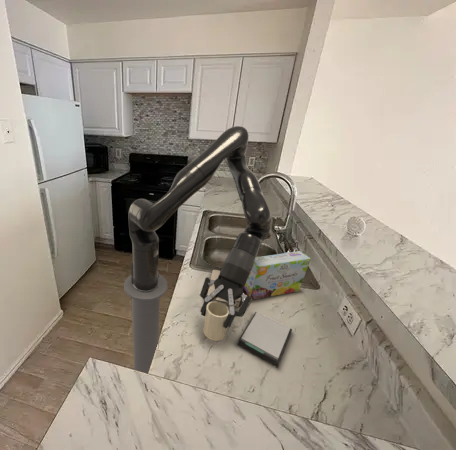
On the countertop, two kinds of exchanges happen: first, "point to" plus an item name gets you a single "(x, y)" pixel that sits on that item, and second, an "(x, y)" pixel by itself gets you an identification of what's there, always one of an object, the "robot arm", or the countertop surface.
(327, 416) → the countertop surface
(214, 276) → the washcloth
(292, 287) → the snack box
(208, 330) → the ceramic cup
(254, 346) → the kitchen scale
